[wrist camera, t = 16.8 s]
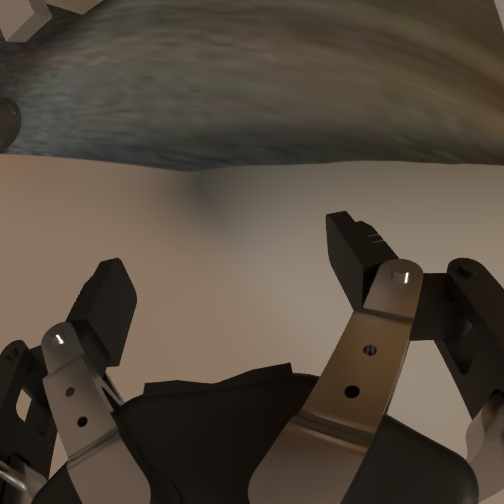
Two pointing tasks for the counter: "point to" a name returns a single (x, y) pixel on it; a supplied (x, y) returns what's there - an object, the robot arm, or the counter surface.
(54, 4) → the cabinet
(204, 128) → the counter surface
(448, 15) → the counter surface
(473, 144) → the counter surface
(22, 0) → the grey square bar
